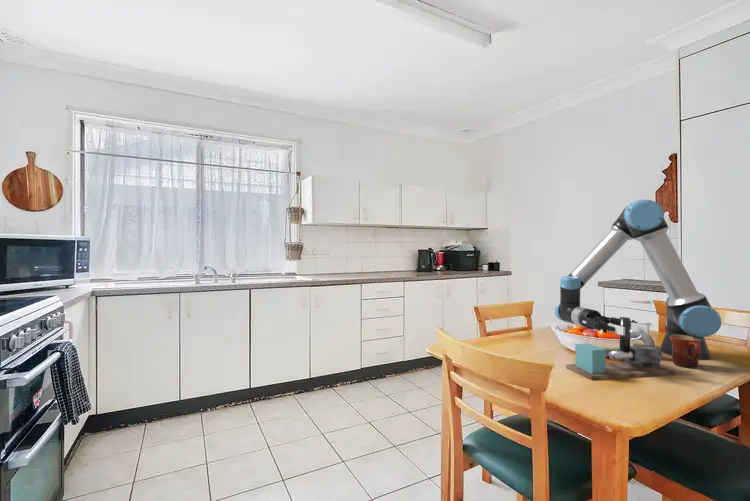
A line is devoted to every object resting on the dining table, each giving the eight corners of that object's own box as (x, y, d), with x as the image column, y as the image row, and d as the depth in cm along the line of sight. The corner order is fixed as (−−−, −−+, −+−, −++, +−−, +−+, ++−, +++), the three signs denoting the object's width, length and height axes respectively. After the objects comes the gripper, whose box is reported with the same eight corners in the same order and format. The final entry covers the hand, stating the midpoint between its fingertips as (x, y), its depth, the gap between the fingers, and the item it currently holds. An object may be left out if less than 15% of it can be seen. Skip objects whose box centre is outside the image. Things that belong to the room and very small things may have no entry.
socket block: (588, 365, 130) (588, 343, 129) (605, 373, 122) (605, 349, 122) (575, 366, 129) (575, 344, 129) (592, 373, 121) (592, 350, 121)
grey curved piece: (656, 358, 142) (656, 332, 142) (653, 360, 139) (653, 334, 139) (625, 352, 149) (626, 328, 149) (623, 354, 147) (623, 329, 147)
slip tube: (654, 356, 131) (654, 315, 131) (661, 358, 128) (662, 317, 128) (608, 358, 128) (608, 317, 128) (615, 361, 125) (615, 319, 125)
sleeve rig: (644, 363, 136) (644, 342, 135) (675, 374, 124) (675, 351, 124) (566, 368, 130) (566, 345, 130) (591, 380, 119) (591, 355, 118)
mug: (664, 361, 138) (664, 334, 138) (691, 362, 137) (691, 335, 136) (684, 371, 127) (684, 342, 126) (713, 373, 125) (714, 343, 125)
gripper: (610, 326, 147) (663, 340, 124) (562, 328, 143) (608, 343, 121) (610, 307, 147) (663, 318, 124) (562, 309, 143) (608, 320, 121)
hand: (636, 330), depth 123 cm, fingers open, 9 cm apart
